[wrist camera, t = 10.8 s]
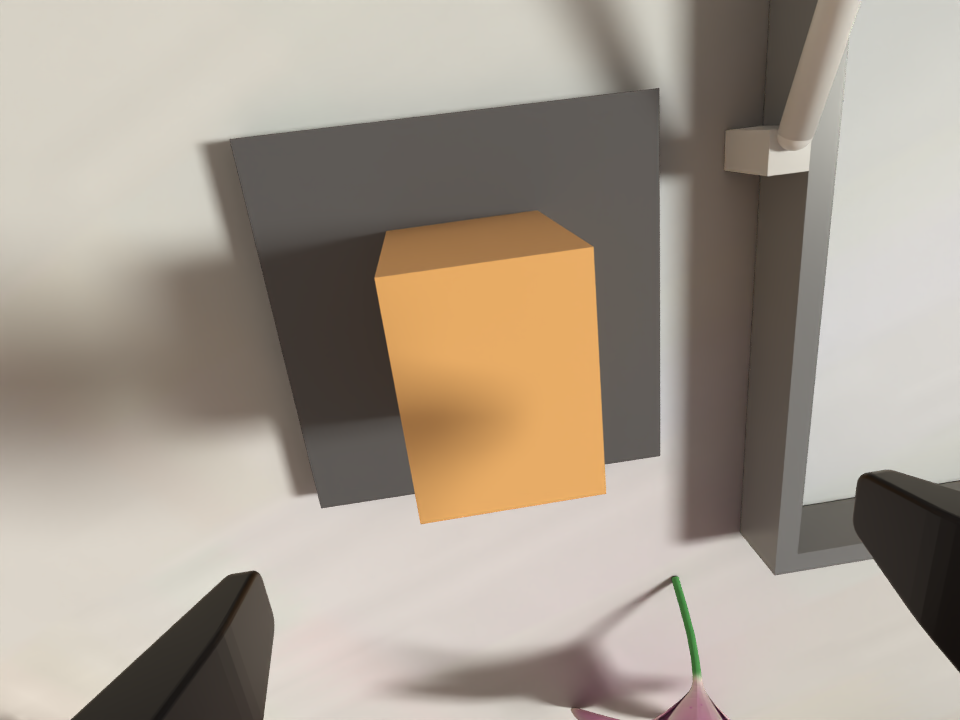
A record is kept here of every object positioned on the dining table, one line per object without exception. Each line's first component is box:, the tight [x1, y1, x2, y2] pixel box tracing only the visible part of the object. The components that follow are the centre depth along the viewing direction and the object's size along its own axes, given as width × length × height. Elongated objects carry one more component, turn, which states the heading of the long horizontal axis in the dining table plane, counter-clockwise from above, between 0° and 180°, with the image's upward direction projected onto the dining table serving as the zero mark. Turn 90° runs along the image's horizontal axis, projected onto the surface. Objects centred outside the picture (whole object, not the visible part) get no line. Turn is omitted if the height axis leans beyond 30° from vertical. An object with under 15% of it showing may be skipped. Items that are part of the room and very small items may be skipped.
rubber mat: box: [230, 88, 660, 508], centre depth 19 cm, size 12×12×1 cm
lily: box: [571, 577, 730, 720], centre depth 23 cm, size 12×12×10 cm
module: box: [374, 210, 606, 524], centre depth 16 cm, size 6×4×6 cm
